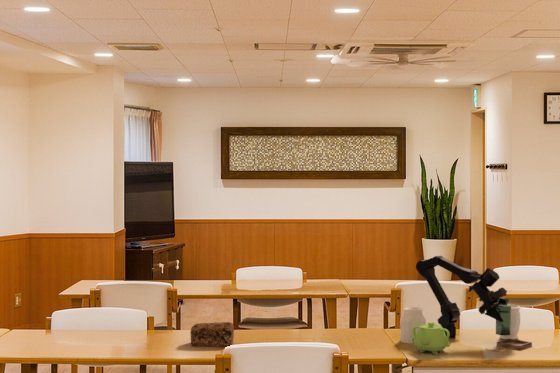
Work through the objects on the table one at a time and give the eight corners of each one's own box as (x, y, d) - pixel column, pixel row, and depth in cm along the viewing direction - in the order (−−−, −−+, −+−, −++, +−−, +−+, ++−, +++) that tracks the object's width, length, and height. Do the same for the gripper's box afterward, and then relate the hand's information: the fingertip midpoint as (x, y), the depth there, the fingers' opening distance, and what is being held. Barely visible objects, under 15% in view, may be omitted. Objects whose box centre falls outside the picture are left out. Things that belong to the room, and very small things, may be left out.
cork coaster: (487, 352, 347) (487, 351, 347) (482, 348, 356) (482, 347, 356) (508, 352, 347) (508, 351, 347) (503, 348, 356) (503, 347, 356)
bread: (234, 342, 368) (234, 320, 368) (231, 347, 357) (231, 325, 357) (193, 342, 369) (193, 320, 369) (189, 347, 358) (189, 324, 358)
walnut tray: (496, 347, 358) (496, 342, 358) (508, 343, 366) (508, 338, 366) (519, 351, 350) (520, 346, 350) (531, 347, 358) (531, 342, 358)
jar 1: (403, 343, 365) (403, 310, 365) (398, 339, 375) (398, 307, 375) (428, 343, 366) (428, 310, 366) (422, 338, 376) (422, 306, 376)
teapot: (453, 355, 342) (454, 326, 341) (421, 356, 340) (421, 326, 340) (441, 347, 358) (441, 319, 357) (410, 348, 356) (410, 319, 356)
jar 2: (521, 340, 372) (521, 308, 372) (498, 339, 374) (498, 307, 374) (519, 336, 382) (519, 304, 382) (496, 335, 384) (496, 303, 384)
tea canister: (501, 335, 358) (501, 307, 357) (492, 333, 364) (492, 305, 364) (514, 334, 360) (514, 306, 360) (505, 332, 366) (505, 304, 366)
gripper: (484, 284, 357) (507, 312, 350) (505, 280, 371) (527, 306, 363) (469, 299, 363) (491, 327, 355) (489, 295, 376) (511, 322, 369)
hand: (506, 320), depth 361 cm, fingers closed on tea canister, 6 cm apart
